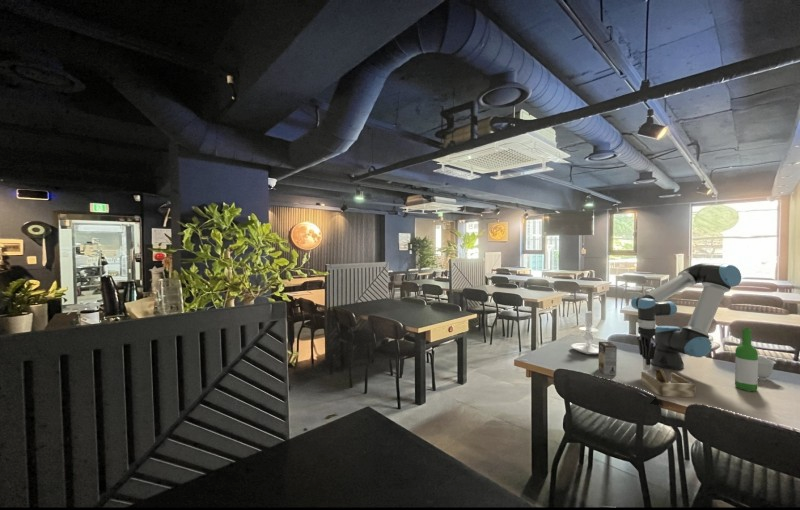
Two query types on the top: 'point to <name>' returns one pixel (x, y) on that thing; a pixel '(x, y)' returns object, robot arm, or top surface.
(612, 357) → the coffee box
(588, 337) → the candlestick
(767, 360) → the teacup
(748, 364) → the wine bottle
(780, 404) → the top surface
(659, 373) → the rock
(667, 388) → the box
